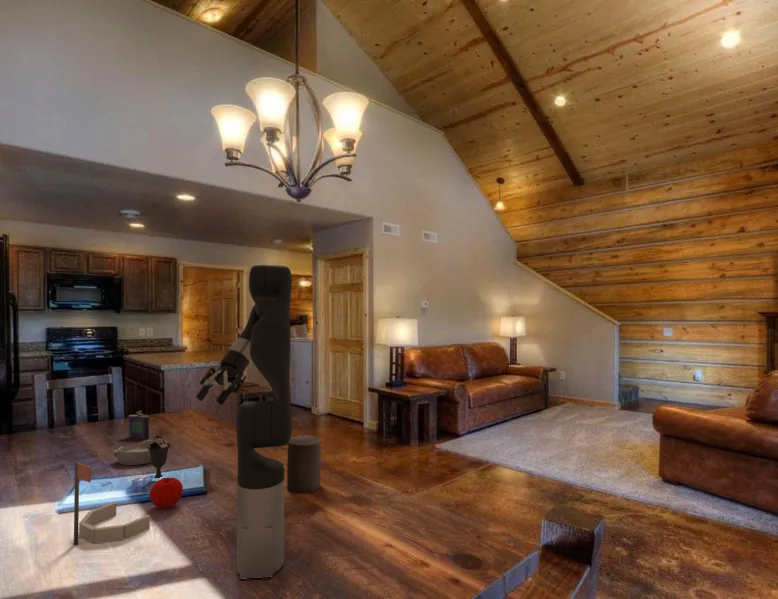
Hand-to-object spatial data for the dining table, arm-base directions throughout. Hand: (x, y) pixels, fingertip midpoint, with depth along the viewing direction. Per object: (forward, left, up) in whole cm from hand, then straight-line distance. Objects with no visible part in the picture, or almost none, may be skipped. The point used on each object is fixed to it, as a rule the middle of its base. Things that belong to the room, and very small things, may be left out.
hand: (208, 401), depth 128 cm
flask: (+56, +44, -26) cm, 75 cm away
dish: (+29, +31, -26) cm, 49 cm away
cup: (-23, +17, -25) cm, 38 cm away
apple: (-10, +8, -26) cm, 29 cm away
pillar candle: (0, -27, -26) cm, 38 cm away
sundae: (+10, +18, -26) cm, 33 cm away
